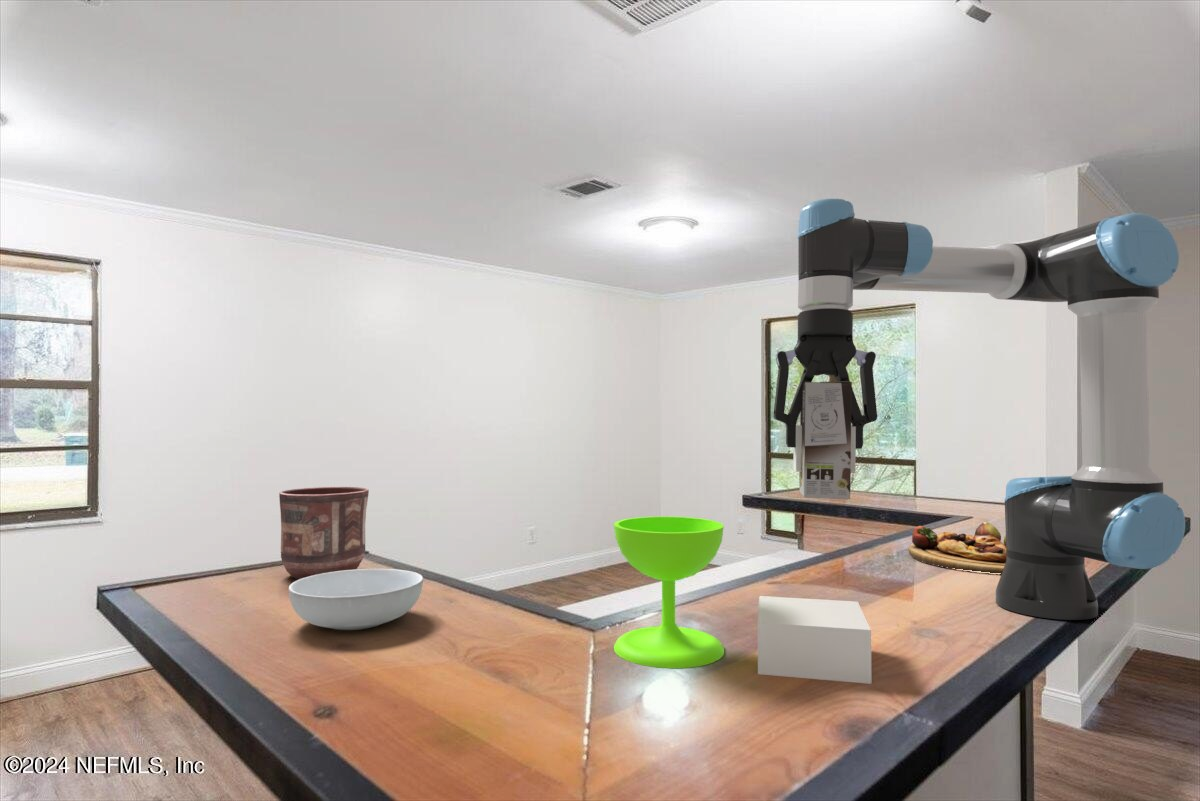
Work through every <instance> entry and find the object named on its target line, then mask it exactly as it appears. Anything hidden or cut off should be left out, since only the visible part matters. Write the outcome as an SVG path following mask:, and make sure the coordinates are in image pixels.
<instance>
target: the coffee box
mask: <svg viewBox="0 0 1200 801" xmlns="http://www.w3.org/2000/svg"><path fill="white" fill-rule="evenodd" d="M852 385H853V382H852V381H850V382H847V381H836V380H835V381H834V380H833V381H830V380H829V381H818V382H816V381H812V382H805V383H804V384H803V397H802V409H801V411H800V414H799V426H802V472H799V473H798V474H799V477H798V478H799V485H798V486H799V489H798V491H799V493H800V494H801V496H802V497H803V498H806V499H829V500H845V501H847V500H850V499H851V477H852V473H851V426H852V423H851V407H852V389H853V386H852Z"/></svg>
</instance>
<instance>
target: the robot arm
mask: <svg viewBox="0 0 1200 801" xmlns="http://www.w3.org/2000/svg"><path fill="white" fill-rule="evenodd" d="M931 233H932V232H930V231H929V229H928V228H927V227H926V226H924V225H922V224H921V225H920V224H915V223H909V222H907V221H902V222H900V221H899V222H898V221H897V222H896V221H885V220H883V221H882V220H871V219H870V220H869V219H863V218H856V217H855V210H854V205H853V203H852V202H851V201H849V200H845V199H844V198H825V199H824V198H823V199H818V200H817V199H816V200H813V201H811V202H808V203H807V204H806V205H804V206H803V207H802V208H801V210H800V213H799V220H798V230H797V239H798V250H797V251H798V252H797V253H798V255H797V256H798V267H797V268H798V275H797V276H798V283H797V284H798V285H797V286H798V289H797V290H798V291H797V292H798V293H797V295H798V296H797V308H798V309H799V310H801V311H800V312H799V313H798V314H797V341H796V342H797V343H796V344H795V346H794V348H793V349H791V350H786V351H784V350H781V351H779V352H777V353H776V355H775V360H776V366H777V378H776V388H775V397H774V405H773V406H774V407H773V414H772V417H773V419H774V420H775V421H779V422H780V423H783V424H784V425H785V445H786V447H787V448H793V452H792V453H793V454H792V455H793V463H792V464H793V465H792V466H793V471H794V472H802V426H800V424H799V425H798V424H797V422H798V419H799V418H800V411H801V409H802V397H803V384H804V383H805V382H813V380H814V377H815V376H816V377H817V376H822V375H824V376H825V375H826V376H829V377H834V380H835V381H847V382H851V381H850V376H849V375H850V374H849V373H848V370H847V366H848V365H849V364H850V363H851V361H852V360H853V359H854V358H855V360H856V365H857V366H859V377H860V378H859V380H860V386H861V387H860V388H861V398H862V408H863V414H862V411H861V408H860V406H859V402H858V400H857V398H856V395H855V392H854V389H853V388H852V407H851V474H856V457H857V456H856V449H857V450H859V449H860V450H862V448H863V446H864V427H865V426H866V425H867V424H870V423H873V422H876V421H877V420H878V411H877V410H878V409H877V398H876V388H875V380H874V379H875V378H874V369H873V368H874V364H875V362H876V361H875V360H876V359H877V358H876V357H877V354H876V353H875V352H874V351H873V350H872V351H869V352H868V351H864V350H859V349H857V347H856V345H855V343H854V339H853V338H854V335H853V333H854V332H853V331H854V329H853V326H854V325H853V324H854V323H853V321H854V320H853V319H854V313H853V312H852V310H850V309H851V308H852V307H853V306H854V291H855V290H857V291H863V290H865V291H867V290H870V291H905V292H933V293H934V292H937V293H938V292H939V293H971V294H972V293H975V294H988V295H989V296H990V297H992V298H993V299H996V300H1008V301H1009V300H1011V301H1027V302H1040V303H1041V302H1042V303H1066V302H1067V309H1068V310H1069V311H1071V312H1072V313H1073V314H1075V316H1077V317H1078V320H1079V321H1078V322H1079V323H1078V324H1079V360H1080V361H1079V362H1080V364H1079V365H1080V366H1079V367H1080V370H1079V371H1080V405H1081V406H1080V412H1081V455H1082V458H1081V459H1082V460H1081V461H1082V464H1081V467H1080V468H1079V469H1078V470H1076V472H1074V473H1073V474H1072V475H1066V476H1065V475H1061V476H1035V477H1033V476H1032V477H1016V478H1012V479H1010V480H1009V481H1008V482H1007V483H1006V487H1005V498H1004V518H1005V525H1004V526H1005V535H1006V563H1005V566H1004V569H1003V572H1002V574H1001V575H1000V577H999V580H998V583H997V586H996V588H995V604H996V605H997V606H999V607H1000V608H1003V609H1005V610H1007V611H1010V612H1013V613H1014V612H1015V613H1017V614H1021V615H1026V616H1031V617H1036V618H1037V617H1038V618H1044V619H1049V620H1050V619H1052V620H1065V621H1081V620H1082V621H1083V620H1091V619H1095V618H1097V617H1098V616H1099V604H1098V599H1097V596H1096V594H1095V592H1094V589H1093V587H1092V584H1091V581H1090V578H1089V574H1087V571H1086V565H1085V564H1086V563H1085V562H1086V561H1085V559H1090V560H1094V561H1098V562H1104V563H1107V564H1109V565H1113V566H1116V567H1120V568H1124V567H1125V568H1131V569H1132V568H1133V569H1139V570H1149V569H1153V568H1157V567H1159V566H1162V565H1163V564H1165V563H1166V562H1168V561H1169V560H1170V559H1171V557H1172V556H1173V555H1174V554H1176V552H1178V550H1179V548H1180V546H1181V544H1182V543H1183V542H1182V541H1183V539H1184V536H1185V530H1186V518H1185V513H1184V511H1183V509H1182V507H1180V505H1179V503H1178V502H1177V500H1176V499H1174V498H1173V497H1172V496H1169V495H1168V494H1165V493H1164V480H1163V478H1162V477H1160V476H1159V475H1158V474H1157V473H1156V472H1154V471H1153V469H1152V468H1151V450H1150V449H1151V447H1150V446H1151V445H1150V444H1151V443H1150V411H1149V410H1150V407H1149V406H1150V403H1149V400H1150V399H1149V365H1148V363H1149V362H1148V326H1147V325H1148V320H1147V314H1148V312H1149V311H1150V310H1151V309H1152V308H1153V307H1154V306H1155V305H1156V304H1157V303H1159V301H1160V297H1159V296H1160V294H1159V292H1160V290H1159V287H1160V286H1163V285H1164V284H1166V283H1167V282H1168V281H1170V280H1171V279H1172V277H1174V273H1176V272H1177V269H1178V266H1179V262H1180V261H1179V259H1180V258H1179V256H1180V255H1179V248H1178V245H1177V242H1176V239H1175V237H1174V235H1173V234H1172V232H1171V231H1170V229H1169V228H1167V227H1166V226H1164V224H1163V223H1162V221H1160V220H1159V219H1157V218H1156V217H1155V216H1152V215H1149V214H1146V213H1141V212H1132V213H1131V212H1130V213H1125V214H1122V215H1118V216H1109V217H1106V218H1104V219H1102V220H1099V221H1096V222H1093V223H1090V224H1087V225H1083V226H1080V227H1077V228H1073V229H1071V230H1066V231H1063V232H1060V233H1059V232H1058V233H1056V234H1054V235H1049V236H1046V237H1043V238H1039V239H1036V240H1032V241H1027V242H1023V243H1022V242H1021V243H1020V242H1019V243H1009V242H1008V243H1002V244H1000V245H998V246H996V247H995V248H983V247H980V248H978V247H955V246H954V247H953V246H934V244H933V243H934V240H933V237H932V234H931ZM794 358H796V359H797V361H798V362H799V363H800V364H801V366H802V367H803V368H804V369H803V372H802V374H801V377H800V380H799V383H798V387H797V389H796V390H795V391H796V392H795V394H794V397H793V399H792V403H791V405H790V408H789V411H788V413H785V411H786V410H785V409H786V401H787V399H786V398H787V392H788V391H787V390H788V383H789V382H788V381H789V372H790V365H792V364H793V361H794Z"/></svg>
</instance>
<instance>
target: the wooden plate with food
mask: <svg viewBox="0 0 1200 801" xmlns="http://www.w3.org/2000/svg"><path fill="white" fill-rule="evenodd" d="M911 542H912V543H911V544H910V545H909V547H908V554H909V555H910V556H911V557H912V558H913V557H914V558H913V559H915V558H916V559H918V560H917V561H919V560H920V561H919V562H921V561H923V562H922V563H924V562H926V563H925V564H927V563H930V564H934V565H939V566H943V567H948V568H955V569H963V570H972V571H981V572H990V573H1001V574H1002V572H1003V569H1004V566H1005V563H1006V534H1005V535H1004V538H1003V542H1002V535H1001V533H1000V531H999V529H998V528H997V527H996V526H994V525H993V524H992V523H990V522H988V521H986V522H985V521H982V523H981V524H980V525H979V526H977V528H976V529H975V532H974V536H973V535H971V534H965V533H959V534H958V533H955V532H951V531H947V532H945V531H944V532H942V533H939V534H937V533H936V532H934V530H932V529H931V528H929V527H928V526H927V527H926V526H922V525H918V526H916V527H915V528H914V529H913V532H912V536H911ZM916 559H915V560H916ZM930 564H929V565H930ZM934 565H933V566H934Z"/></svg>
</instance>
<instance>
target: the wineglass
mask: <svg viewBox="0 0 1200 801" xmlns="http://www.w3.org/2000/svg"><path fill="white" fill-rule="evenodd" d="M724 527H725V526H724V523H722V522H720V521H716V520H712V519H707V518H701V517H698V518H697V517H689V516H688V517H687V516H667V515H666V516H660V515H659V516H640V517H630V518H625V519H620V520H616V521H615V522H614V523H613V530H614V536H615V540H616V543H617V545H618V548H619V550H620V551H621V554H622V555H623V556H624V558H625V560H627V562H628V563H629V565H630V566H632V567H633V568H634V569H635V570H637V571H638V572H640V573H641V574H643V575H645V576H647V577H650V578H653V579H655V580H659V581H661V624H660V625H659V626H657V625H656V626H646V627H641V628H636V629H633V630H630V631H627V632H625V633H623V634H622V635H621V636H619V637H618V638H617V639H616V641H615V643H614V645H613V650H614V653H615V654H616V655H617V656H619V658H622V659H623V660H625V661H627V662H631V663H634V664H637V665H641V666H646V667H652V668H663V669H690V668H696V667H702V666H705V665H709V664H710V665H711V664H712V663H715V662H717V661H720V659H722V658H723V656H724V655H725V648H724V646H723V644H722V643H721V642H720V640H719V639H718V638H717V637H715V636H713V635H712V634H711V633H707V632H705V631H702V630H700V629H699V630H698V629H695V628H690V627H684V626H683V627H682V626H678V625H677V623H676V581H681V580H684V579H686V578H689V577H693V576H695V575H696V574H697V573H699V572H701V571H702V570H703V569H705V568H706V567H707V566H708V565H710V563H711V562H712V561H713V559H714V558H715V557H716V556H717V553H718V551H719V548H720V546H721V544H722V541H723V535H724V534H723V533H724Z"/></svg>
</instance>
